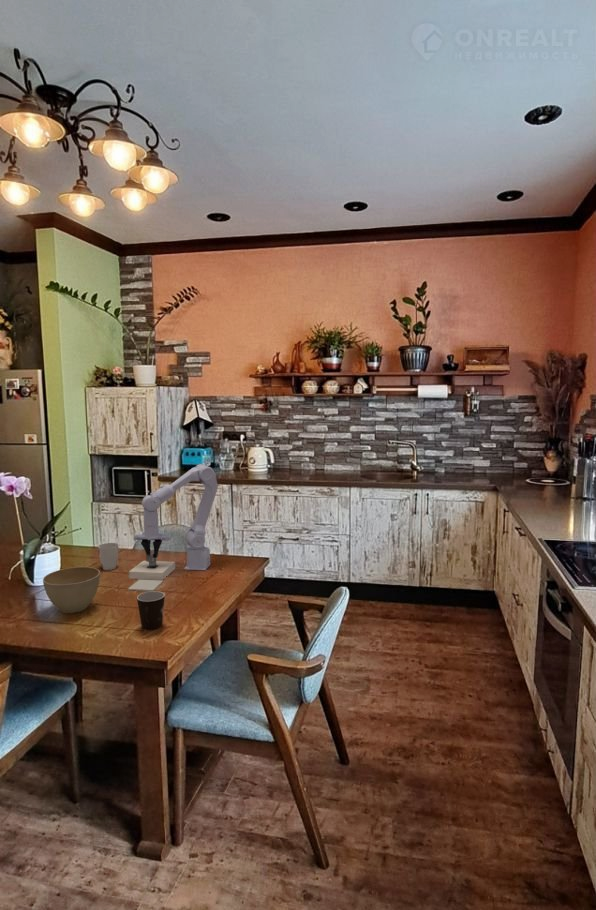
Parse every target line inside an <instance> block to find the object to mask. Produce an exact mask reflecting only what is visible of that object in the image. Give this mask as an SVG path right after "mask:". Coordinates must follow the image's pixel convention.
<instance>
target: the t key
mask: <svg viewBox="0 0 596 910" xmlns="http://www.w3.org/2000/svg"><path fill="white" fill-rule="evenodd" d="M159 556H160V555H159V554H158V557H159ZM145 558H146V559H145V561H146V562H149V568H157V565H156V561H157V558H154V549H152V550H150V553H149V554H147V555H145Z"/></svg>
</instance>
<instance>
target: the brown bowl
mask: <svg viewBox="0 0 596 910" xmlns="http://www.w3.org/2000/svg"><path fill="white" fill-rule="evenodd" d="M100 577H101V571H100V570H99V569H97V568H95V567H92V566H91V567H90V566H75V567H68V568H62V569H58V570H55V571H51V572H50V573H47V574H46V575H45V576H44V577H43V578H42V582H43V588H44V590H45V593H46V596H47V597H48V599H49V601H50V602H51V604H52V605H54V606H55V608H57V610H58V611H59V612H62V613H64V614H68V613H70V614H76V612H77V613H80V612H82V611H84V610H86V609H87V608H88V607H89V605H90V604H91V603H92V601H93V599H94V598H95V596H96V594H97V591H98V588H99V584H100V579H101V578H100Z"/></svg>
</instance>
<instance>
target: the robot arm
mask: <svg viewBox="0 0 596 910" xmlns="http://www.w3.org/2000/svg"><path fill="white" fill-rule="evenodd" d="M191 482H201V484H202V486H203V488H204V489H203V492H202V496H201V499H200V501H199V503H198V504H199V505H198V508H197V510H196V514H195V517H194V519H193V522H192V524H190V527H189V529H188V530H187V531H186V532H185V534H184V539H185V542H187V545H186V565H185V567H184V568H183V570H187V571H192V570H193V571H206V570H207V569H208V568H209V567H210V566H211V565H212V564H211V552H210V551H211V549H210V547H207V546H205V543H206V538H205V537H206V525H207V523H208V519H209V516H210V513H211V510H212V507H213V504H214V501H215V498H216V495H217V491H218V489H219V486H218V485H219V484H218V481H217V473H216V471H215V470H214V469H213V468H212V467H211V466H208V465H206V464H203V463H199V464H197V465H196V466H194V467H192V468H191V469H188V471H187V472H185V473H183V474H182V475H181V476H180V477H178V478H177V479H176V480H175V481H174V482H173V481H172V483H171V484H167V483H166V484H164V485H163V484H161V485H159V487H160V488H158V489H157V490H155V491H154V492H150V493H149V495H146V496H144V497H143V498H142V501H141V506H142V507H143V534H134V535H133V541H141V542H140V544H141V546H142V548H143V549H144V551H145V554H146V555H147V554H149V553H150V552H151V544H152V546H153V550H154V558H156V559H157V558H158V557H159V556H158V555H159V550H160V547H161V544H162V542H163V541H167V542H169V541H170V540H171V539H170V538H171V537H170V534H161V533H160V532H159V531H160V530H159V513H158V509H159V508H160V505H162V504H163V503H165V502H167V501H168V500H169V499H171V498H173V497H174V496H175V492H176V491H178V490H179V489H181V488H182V487H184V486H186V485H187V484H189V483H191ZM151 541H153V542H152V543H151ZM146 555H145V556H146Z"/></svg>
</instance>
